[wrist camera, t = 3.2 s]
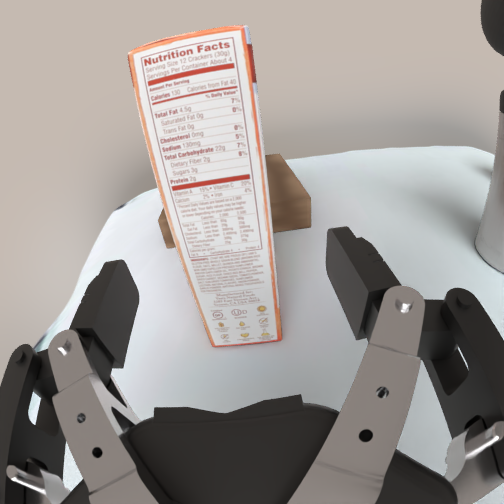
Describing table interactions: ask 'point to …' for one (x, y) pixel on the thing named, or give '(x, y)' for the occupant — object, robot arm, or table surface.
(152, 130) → the cracker box
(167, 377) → the table surface
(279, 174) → the walnut base
